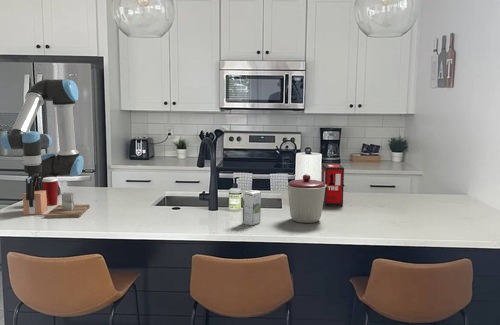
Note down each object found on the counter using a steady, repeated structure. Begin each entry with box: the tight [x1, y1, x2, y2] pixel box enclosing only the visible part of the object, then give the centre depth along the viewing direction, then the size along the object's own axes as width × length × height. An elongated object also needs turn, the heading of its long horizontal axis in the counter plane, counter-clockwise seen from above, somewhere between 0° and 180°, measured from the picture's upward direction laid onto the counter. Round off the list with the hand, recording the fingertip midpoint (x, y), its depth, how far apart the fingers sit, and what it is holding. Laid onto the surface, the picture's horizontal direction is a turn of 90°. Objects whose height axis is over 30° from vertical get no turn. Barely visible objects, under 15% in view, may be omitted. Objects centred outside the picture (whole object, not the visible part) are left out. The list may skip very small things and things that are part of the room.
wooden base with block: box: [44, 191, 90, 219], centre depth 220 cm, size 20×15×10 cm
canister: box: [285, 174, 327, 224], centre depth 206 cm, size 18×18×21 cm
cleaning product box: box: [321, 162, 345, 207], centre depth 242 cm, size 16×9×20 cm, turn 179°
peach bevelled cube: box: [22, 191, 48, 216], centre depth 219 cm, size 8×8×10 cm
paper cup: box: [42, 176, 59, 207], centre depth 236 cm, size 8×8×14 cm
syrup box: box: [242, 189, 262, 227], centre depth 201 cm, size 6×6×14 cm
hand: (35, 211), depth 220 cm, fingers closed on peach bevelled cube, 8 cm apart
